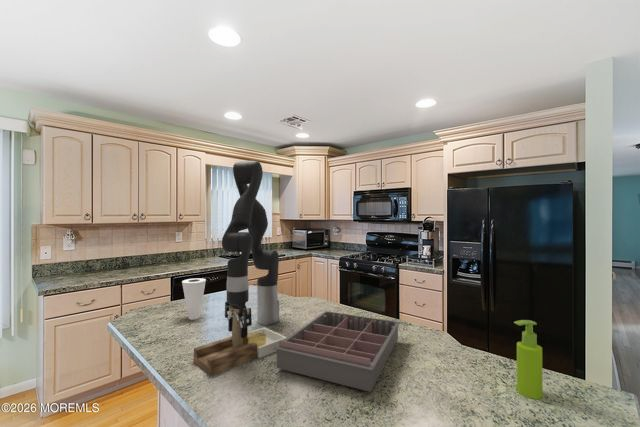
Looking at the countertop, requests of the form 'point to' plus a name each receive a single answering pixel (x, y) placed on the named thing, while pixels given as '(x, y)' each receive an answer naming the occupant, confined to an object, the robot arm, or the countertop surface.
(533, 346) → the soap dispenser
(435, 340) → the countertop surface
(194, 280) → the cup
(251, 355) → the slot board
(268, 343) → the tray
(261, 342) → the golden brown cube
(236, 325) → the handle
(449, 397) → the countertop surface
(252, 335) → the chip
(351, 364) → the organizer tray
